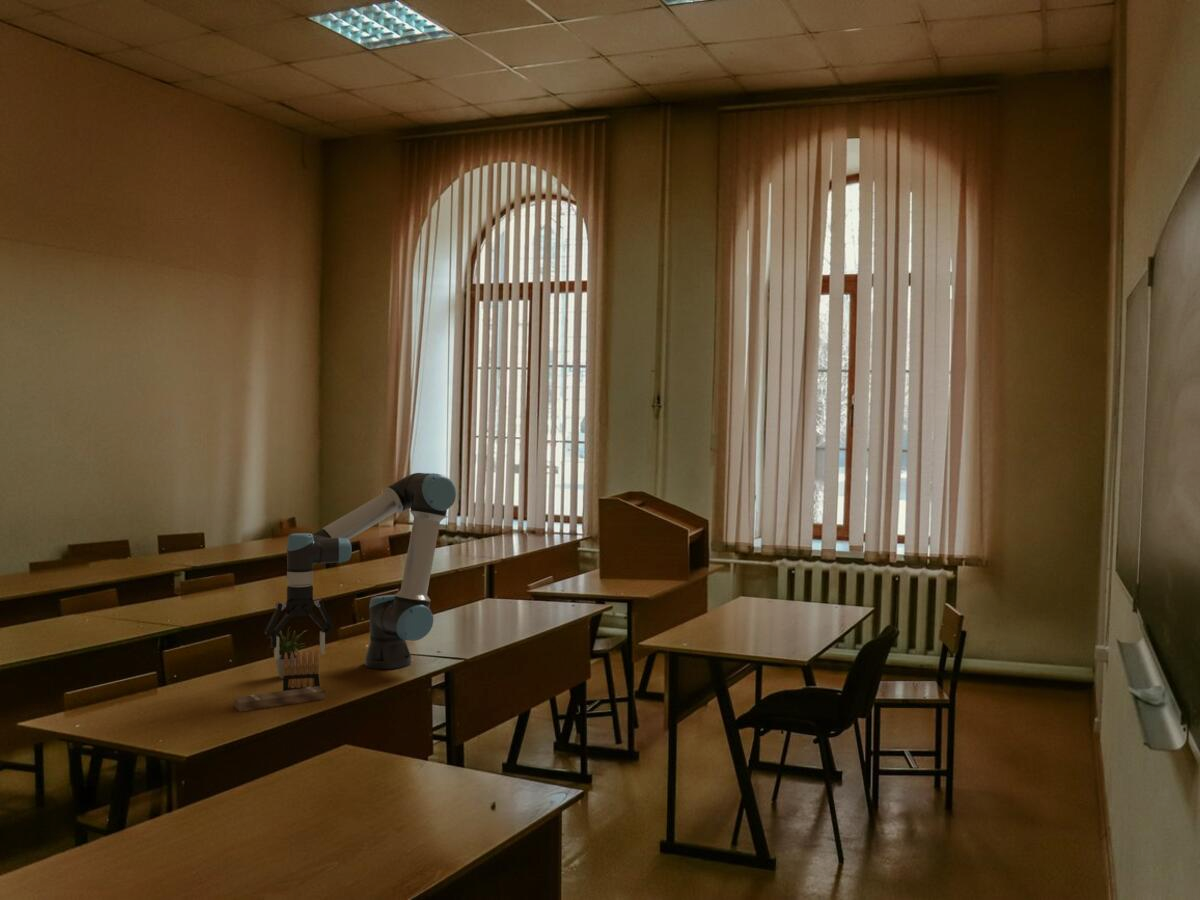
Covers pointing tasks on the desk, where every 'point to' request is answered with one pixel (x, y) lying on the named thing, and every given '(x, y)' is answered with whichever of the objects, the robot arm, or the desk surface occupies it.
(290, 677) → the ammunition clip
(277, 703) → the plank
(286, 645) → the house plant
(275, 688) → the desk surface
